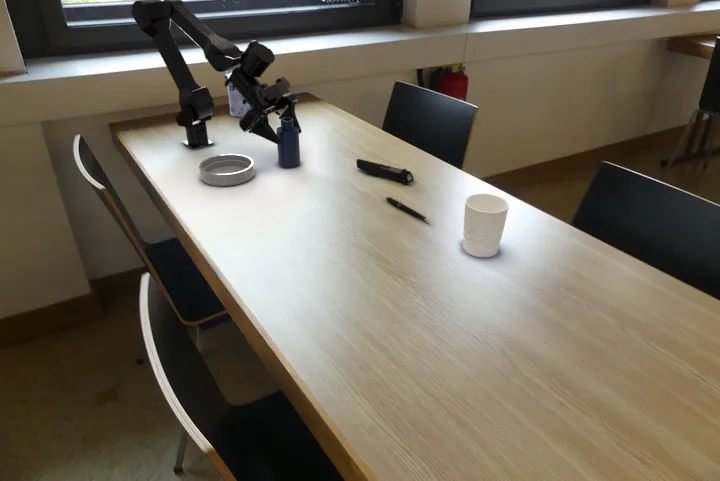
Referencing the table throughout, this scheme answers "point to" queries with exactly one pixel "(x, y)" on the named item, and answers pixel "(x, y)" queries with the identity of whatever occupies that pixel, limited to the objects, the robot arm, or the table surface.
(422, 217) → the fountain pen
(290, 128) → the dark blue vase
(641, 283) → the table surface
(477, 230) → the white cup
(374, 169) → the electric trimmer
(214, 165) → the steel dish
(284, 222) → the table surface
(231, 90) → the aerosol can
